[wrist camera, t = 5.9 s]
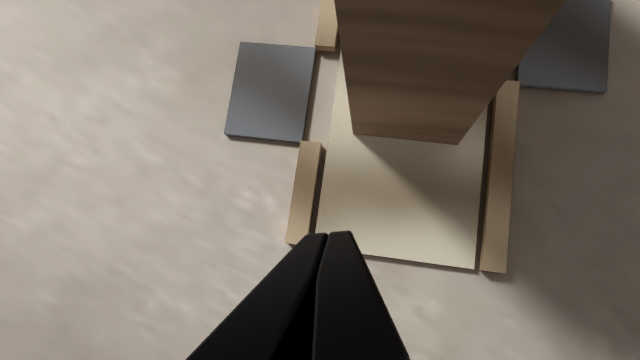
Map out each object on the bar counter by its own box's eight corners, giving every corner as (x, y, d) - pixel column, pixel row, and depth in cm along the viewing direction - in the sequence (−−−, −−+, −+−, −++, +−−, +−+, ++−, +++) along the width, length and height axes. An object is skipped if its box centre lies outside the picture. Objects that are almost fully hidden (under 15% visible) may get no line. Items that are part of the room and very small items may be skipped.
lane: (595, 286, 20) (633, 290, 17) (208, 232, 23) (184, 228, 20) (612, -124, 24) (647, -179, 21) (273, -133, 26) (260, -184, 23)
